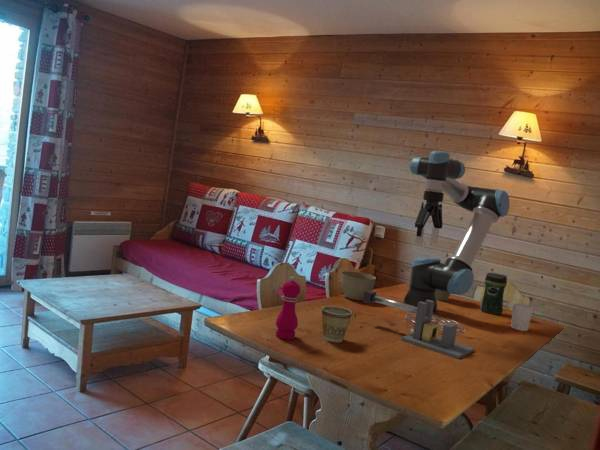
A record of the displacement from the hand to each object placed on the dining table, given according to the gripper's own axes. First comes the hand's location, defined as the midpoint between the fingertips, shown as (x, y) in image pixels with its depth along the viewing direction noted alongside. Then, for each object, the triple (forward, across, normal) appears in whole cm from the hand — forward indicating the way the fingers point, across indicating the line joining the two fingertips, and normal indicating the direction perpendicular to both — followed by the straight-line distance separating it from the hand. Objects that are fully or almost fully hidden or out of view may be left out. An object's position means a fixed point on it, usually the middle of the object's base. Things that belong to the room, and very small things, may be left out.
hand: (426, 244), depth 210 cm
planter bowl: (+32, +10, +35) cm, 48 cm away
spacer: (+31, -21, -16) cm, 41 cm away
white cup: (+32, +38, -30) cm, 58 cm away
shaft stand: (+32, -21, -19) cm, 43 cm away
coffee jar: (+32, +55, -12) cm, 65 cm away
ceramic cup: (+32, -49, +4) cm, 59 cm away
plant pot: (+32, +55, +14) cm, 65 cm away
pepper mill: (+32, -63, +15) cm, 72 cm away
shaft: (+24, -21, 0) cm, 32 cm away
